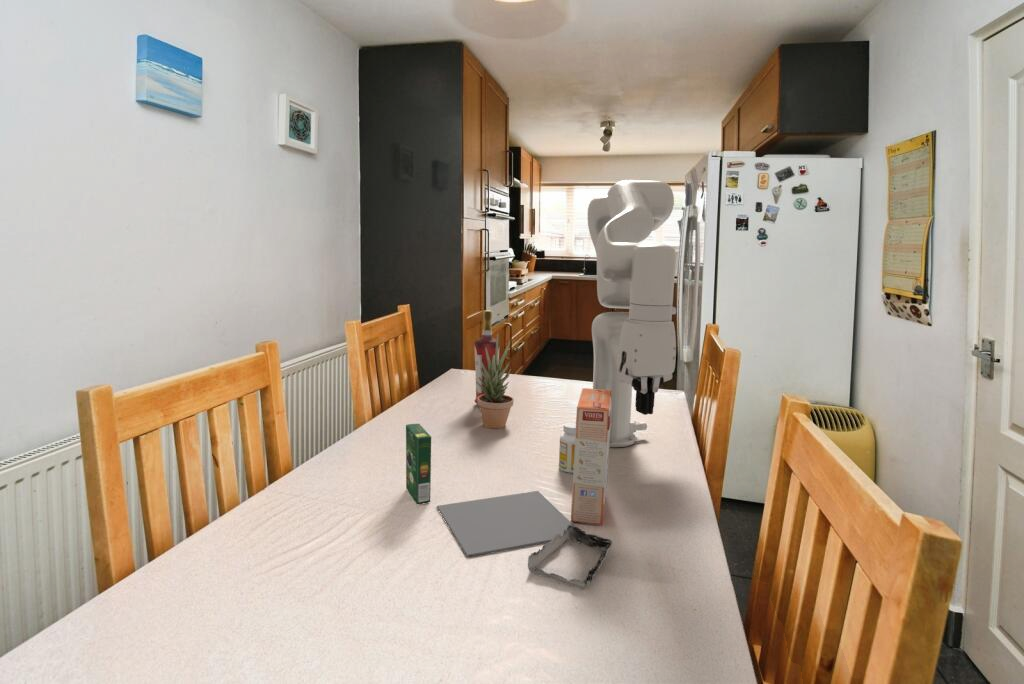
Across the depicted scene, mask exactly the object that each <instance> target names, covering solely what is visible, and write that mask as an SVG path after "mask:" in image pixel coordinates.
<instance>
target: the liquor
mask: <svg viewBox="0 0 1024 684" xmlns="http://www.w3.org/2000/svg"><path fill="white" fill-rule="evenodd" d="M482 319H483V325H482V333H481V337H480V338H477V339H476V340H475V341H474V368H475V369H474V370H475V399H474V403H475V404H476V405H477V406H478V407H479V405H478V404H477V398H478V397H479V396H480V395H484V392H483V391H482V390H483V389H482V388H481V387H480V386H479V385H478V384H477V383H476V382H478V383H479V384H480V385H482V386H483V387H484V388H485V386H484V384H483V383H482V382H481V381H480V379H479V377H480V378H481V380H482V381H483V382H485V381H484V379H485V378H484V376H483V374H482V372H481V370H480V368H481V369H482V370H483V367H482V364H481V363H483V364H484V366H485V368H486V370H487V371H488V372H489V368H488V361H487V356H486V348H487V351H488V354H489V357H490V361H491V364H492V359H493V356H494V360H495V353H496V340H497V338H494V337H493V330H492V329H493V327H492V319H493V310H488V309H487V310H482ZM500 343H501V342H500V341H499V340H498V361H497V365H498V364H499V362H500V358H499V357H500ZM483 371H484V370H483ZM484 373H485V372H484ZM481 389H482V390H481ZM484 391H485V390H484ZM485 392H486V391H485Z"/></svg>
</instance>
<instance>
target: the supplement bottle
mask: <svg viewBox="0 0 1024 684" xmlns="http://www.w3.org/2000/svg"><path fill="white" fill-rule="evenodd" d="M575 432H576V422H566V423H564V424H563V432H562V433H561V434H560V436H559V453H558V454H559V455H558V468H559V469H560V471H562V472H564V473H571V474H573V470H574V451H575Z"/></svg>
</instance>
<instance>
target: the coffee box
mask: <svg viewBox="0 0 1024 684" xmlns="http://www.w3.org/2000/svg"><path fill="white" fill-rule="evenodd" d="M405 462H406V464H405V477H406V478H405V482H406V483H405V485H406V487H405V488H406V490H407V492H408V494H409V495H410V496H411V497H412V499H413V501H414V503H415V504H416V505H417V504H419V505H424V504H423V503H425V504H429V503H428V502H430V503H431V492H432V491H431V489H432V488H431V483H432V482H431V479H432V478H431V475H432V472H431V471H432V435H430V433H429V432H427V430H426V429H425V428H424V427H423V426H422V425H421V424H420V423H408V424H406V425H405Z"/></svg>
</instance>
